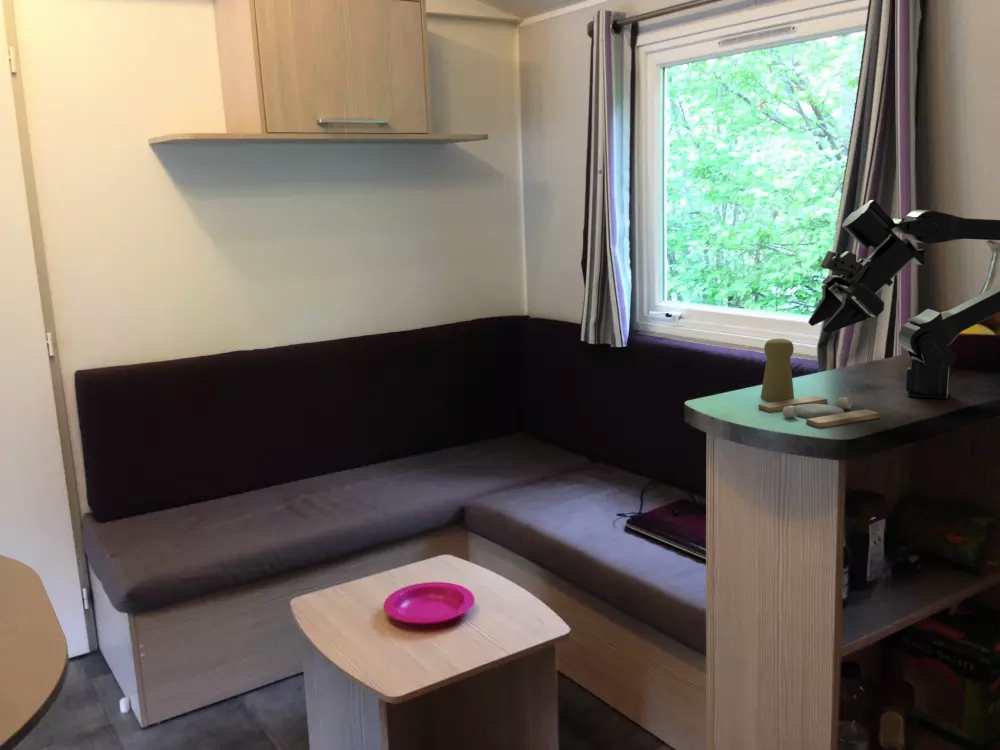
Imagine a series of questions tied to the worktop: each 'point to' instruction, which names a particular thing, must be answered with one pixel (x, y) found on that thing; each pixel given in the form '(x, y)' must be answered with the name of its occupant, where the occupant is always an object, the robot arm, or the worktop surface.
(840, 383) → the worktop surface
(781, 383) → the cork
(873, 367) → the worktop surface
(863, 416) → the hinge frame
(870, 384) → the worktop surface
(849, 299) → the robot arm
